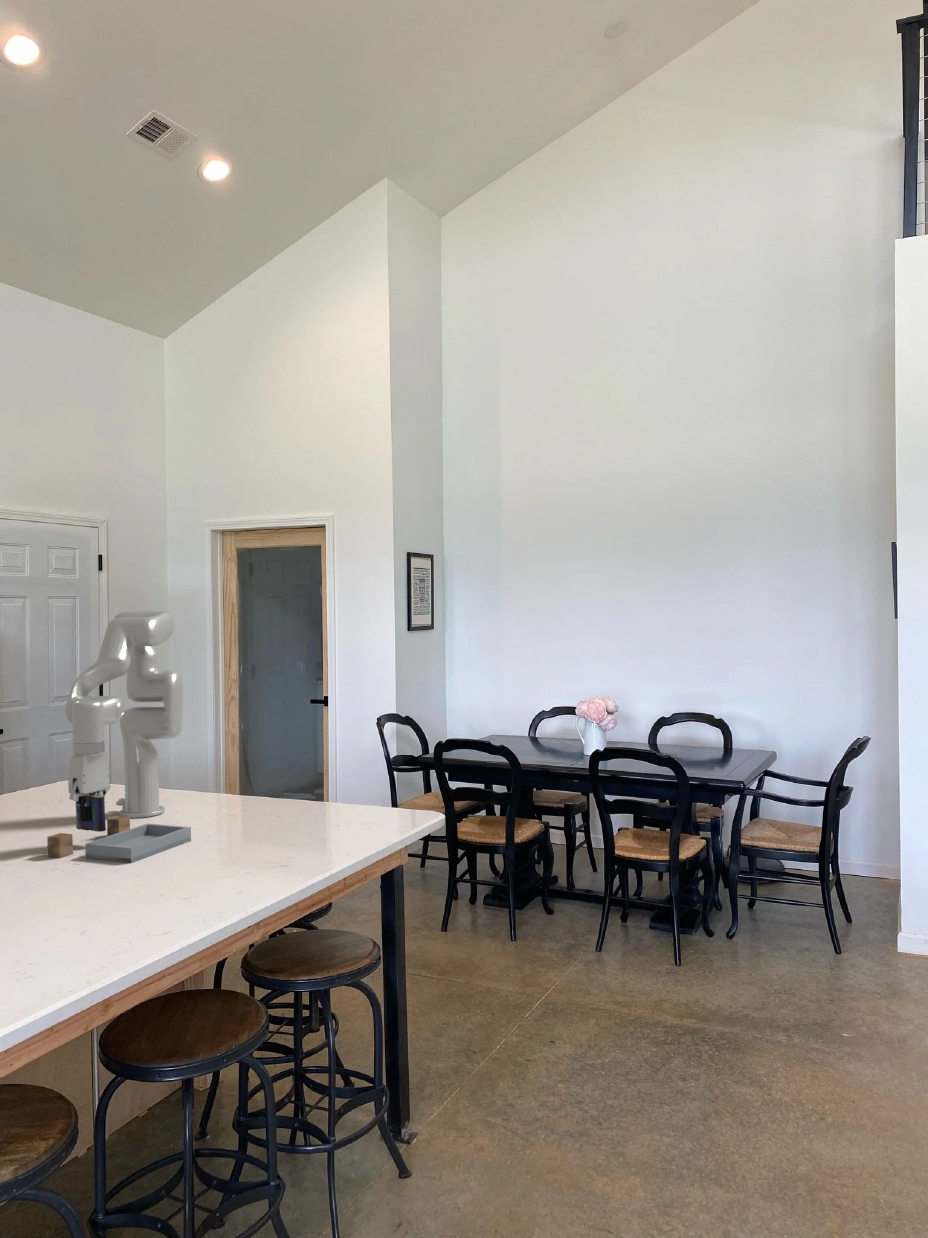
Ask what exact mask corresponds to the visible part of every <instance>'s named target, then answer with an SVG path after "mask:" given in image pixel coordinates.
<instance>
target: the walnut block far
mask: <svg viewBox="0 0 928 1238" xmlns="http://www.w3.org/2000/svg"><path fill="white" fill-rule="evenodd" d="M130 819H131V818H130V817H128V816H120V815H115V816H112V817H108V818H106V831H107V835H106V837H107V836H111V835H114V834H117V833H120V832H123V831H126V830H129V829H131V822H130V821H131V820H130Z"/></svg>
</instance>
